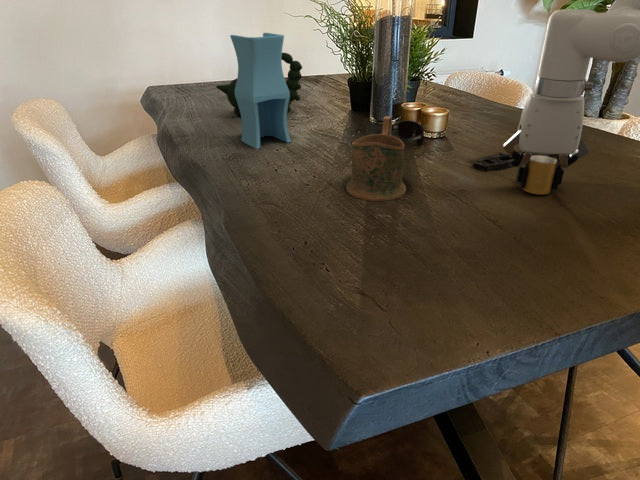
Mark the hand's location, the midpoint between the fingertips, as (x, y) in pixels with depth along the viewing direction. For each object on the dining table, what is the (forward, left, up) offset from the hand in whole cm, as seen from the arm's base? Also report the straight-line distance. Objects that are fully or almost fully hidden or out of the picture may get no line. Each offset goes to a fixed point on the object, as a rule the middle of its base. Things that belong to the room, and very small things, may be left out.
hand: (537, 185), depth 93 cm
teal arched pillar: (+61, -24, -1) cm, 65 cm away
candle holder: (0, 0, -1) cm, 1 cm away
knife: (0, -19, -1) cm, 19 cm away
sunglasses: (+28, -26, -1) cm, 38 cm away
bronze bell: (+30, +1, -1) cm, 30 cm away
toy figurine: (+70, -51, -1) cm, 87 cm away
